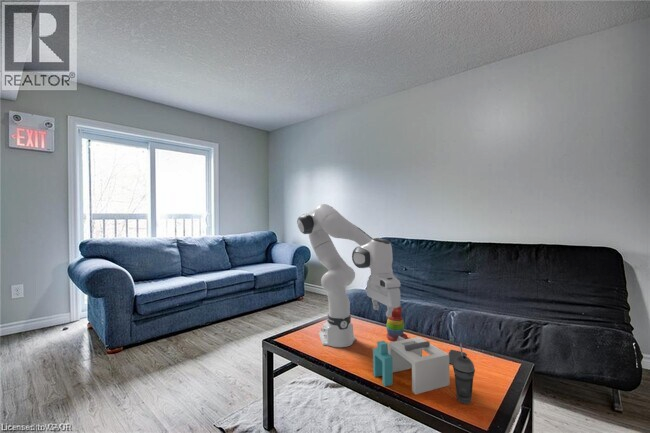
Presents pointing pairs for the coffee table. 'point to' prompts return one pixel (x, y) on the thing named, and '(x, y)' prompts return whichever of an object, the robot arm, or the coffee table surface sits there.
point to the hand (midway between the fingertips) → (382, 312)
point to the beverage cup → (463, 378)
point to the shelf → (421, 363)
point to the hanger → (383, 363)
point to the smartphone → (454, 355)
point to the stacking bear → (395, 325)
